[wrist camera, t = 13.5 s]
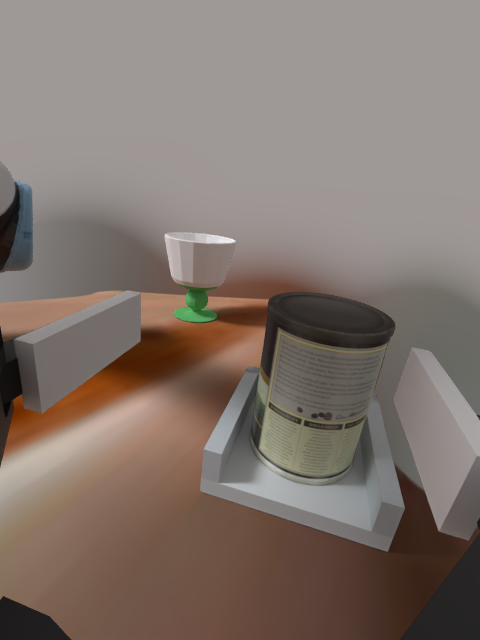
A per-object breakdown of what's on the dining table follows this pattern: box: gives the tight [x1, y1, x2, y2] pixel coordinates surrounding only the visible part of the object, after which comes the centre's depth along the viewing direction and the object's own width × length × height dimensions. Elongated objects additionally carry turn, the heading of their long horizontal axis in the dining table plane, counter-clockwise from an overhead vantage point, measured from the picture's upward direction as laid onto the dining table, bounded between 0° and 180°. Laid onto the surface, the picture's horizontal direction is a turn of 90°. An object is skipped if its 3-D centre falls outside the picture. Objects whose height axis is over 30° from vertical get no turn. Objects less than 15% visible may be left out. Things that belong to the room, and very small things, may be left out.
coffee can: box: [250, 292, 395, 485], centre depth 29 cm, size 10×10×14 cm
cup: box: [165, 232, 236, 323], centre depth 64 cm, size 14×14×16 cm
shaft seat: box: [200, 366, 405, 552], centre depth 35 cm, size 24×15×7 cm, turn 165°
